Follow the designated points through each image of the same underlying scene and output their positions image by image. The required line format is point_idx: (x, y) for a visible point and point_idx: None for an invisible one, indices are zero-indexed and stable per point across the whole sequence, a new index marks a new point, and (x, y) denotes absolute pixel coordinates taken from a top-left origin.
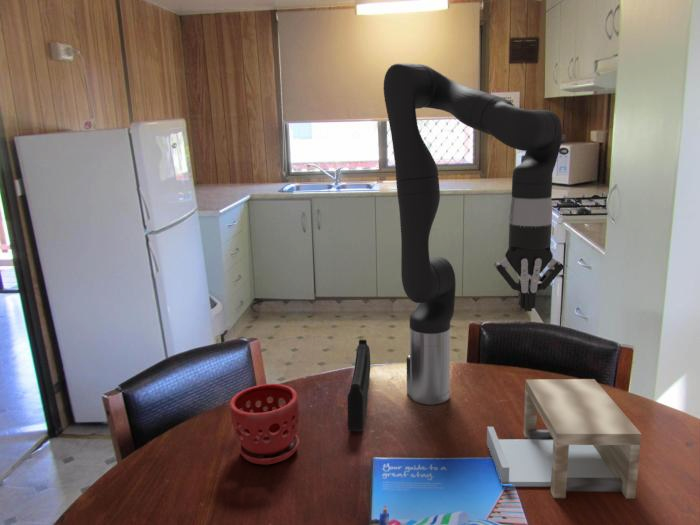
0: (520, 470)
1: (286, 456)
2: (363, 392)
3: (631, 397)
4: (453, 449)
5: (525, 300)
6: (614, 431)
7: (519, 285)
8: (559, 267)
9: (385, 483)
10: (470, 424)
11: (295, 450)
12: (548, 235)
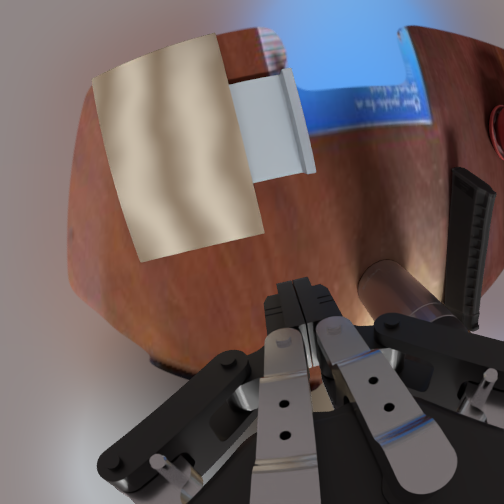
0: (264, 101)
1: (492, 111)
2: (475, 206)
3: (126, 332)
4: (352, 147)
5: (313, 299)
6: (125, 69)
7: (367, 345)
8: (117, 460)
9: (410, 73)
10: (332, 218)
11: (490, 123)
12: None
